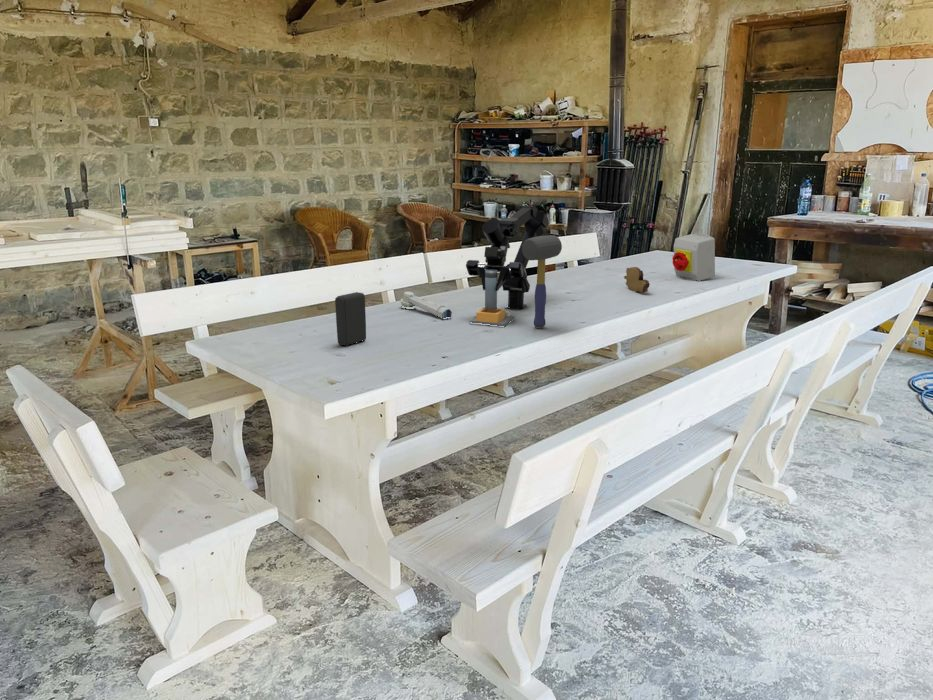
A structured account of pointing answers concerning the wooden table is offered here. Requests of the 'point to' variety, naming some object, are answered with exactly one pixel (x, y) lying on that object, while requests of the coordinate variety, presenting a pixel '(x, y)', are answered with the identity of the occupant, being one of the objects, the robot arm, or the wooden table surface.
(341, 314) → the black upright block
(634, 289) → the wooden carving
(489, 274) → the plug
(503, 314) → the panel
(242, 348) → the wooden table surface
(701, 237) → the electrical switch box
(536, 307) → the rubber mallet
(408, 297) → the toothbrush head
